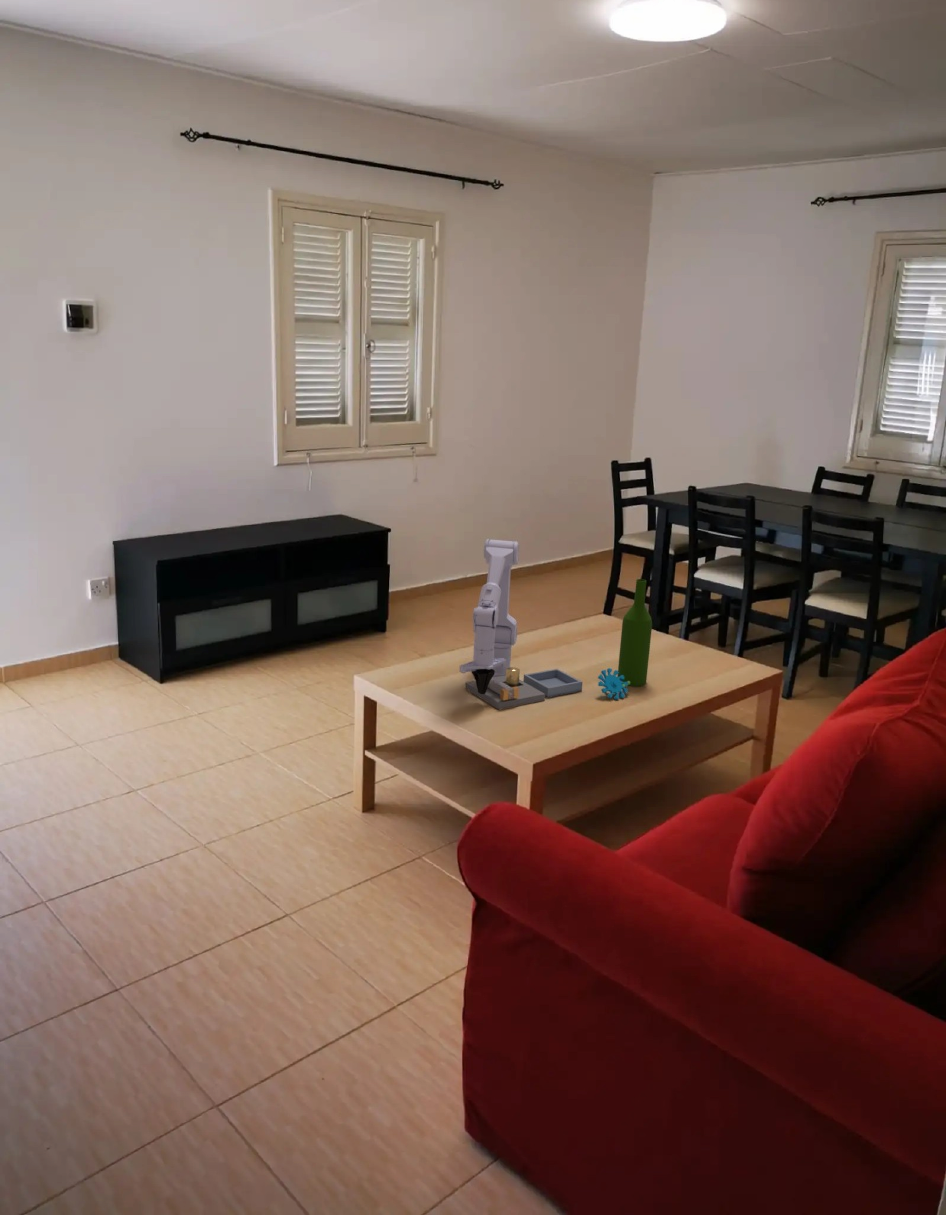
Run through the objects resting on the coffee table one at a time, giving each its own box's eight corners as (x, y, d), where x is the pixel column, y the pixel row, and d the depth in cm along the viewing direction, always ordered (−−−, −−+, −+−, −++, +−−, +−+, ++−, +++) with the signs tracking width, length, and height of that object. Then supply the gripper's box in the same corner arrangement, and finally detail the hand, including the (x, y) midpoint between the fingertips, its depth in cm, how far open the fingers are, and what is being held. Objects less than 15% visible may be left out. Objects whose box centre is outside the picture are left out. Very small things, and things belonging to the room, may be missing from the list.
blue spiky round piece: (604, 697, 273) (596, 666, 278) (594, 705, 278) (586, 675, 283) (635, 698, 278) (627, 667, 283) (625, 706, 283) (617, 676, 287)
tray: (523, 683, 286) (523, 674, 285) (556, 677, 292) (557, 668, 292) (547, 697, 276) (548, 688, 275) (581, 691, 282) (582, 681, 281)
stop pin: (502, 688, 281) (503, 668, 279) (513, 686, 283) (514, 666, 281) (510, 693, 278) (511, 672, 276) (521, 691, 280) (522, 670, 278)
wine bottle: (623, 674, 298) (632, 574, 289) (650, 680, 294) (660, 579, 285) (612, 682, 290) (621, 580, 281) (640, 688, 286) (650, 585, 277)
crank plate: (465, 688, 280) (465, 682, 279) (510, 680, 288) (510, 674, 288) (498, 709, 265) (499, 702, 265) (544, 700, 274) (545, 693, 273)
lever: (472, 682, 279) (473, 671, 278) (487, 679, 281) (488, 668, 280) (503, 701, 266) (503, 689, 265) (518, 698, 268) (519, 686, 267)
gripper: (469, 655, 258) (467, 701, 262) (513, 648, 266) (510, 693, 269) (456, 648, 264) (454, 693, 268) (499, 641, 271) (497, 685, 275)
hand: (481, 692), depth 269 cm, fingers closed
